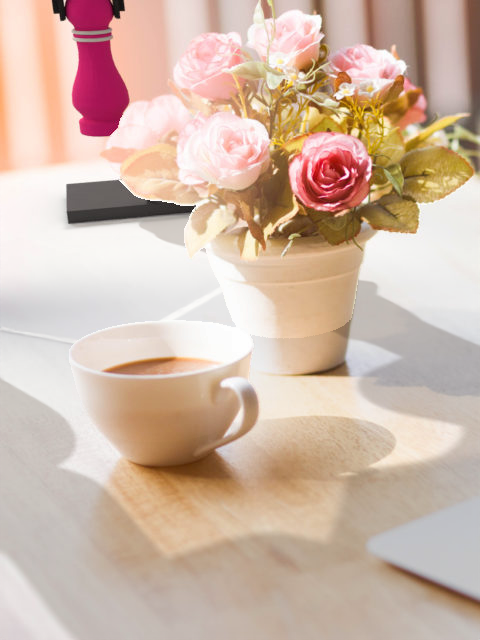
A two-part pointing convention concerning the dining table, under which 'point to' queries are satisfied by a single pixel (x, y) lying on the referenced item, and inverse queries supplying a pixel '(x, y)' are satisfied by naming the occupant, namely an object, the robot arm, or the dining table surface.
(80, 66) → the pepper mill
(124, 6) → the robot arm
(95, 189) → the scale
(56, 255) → the dining table surface
